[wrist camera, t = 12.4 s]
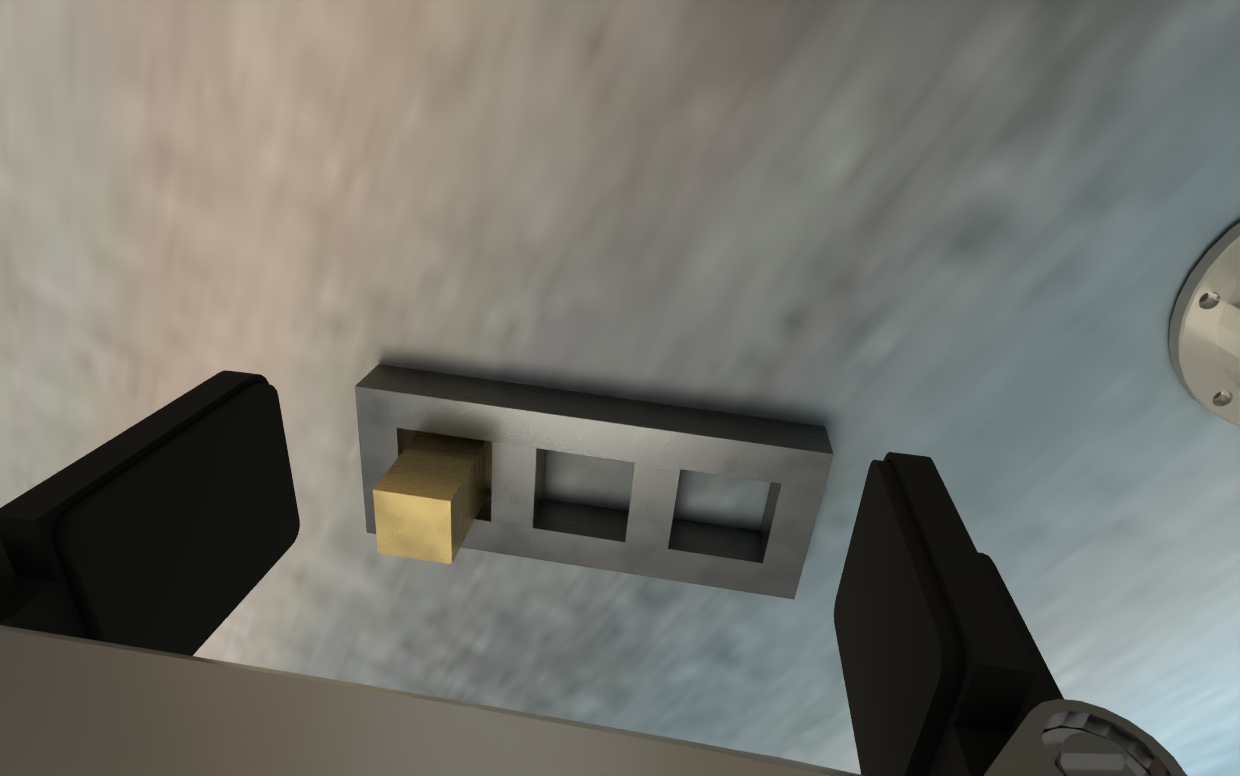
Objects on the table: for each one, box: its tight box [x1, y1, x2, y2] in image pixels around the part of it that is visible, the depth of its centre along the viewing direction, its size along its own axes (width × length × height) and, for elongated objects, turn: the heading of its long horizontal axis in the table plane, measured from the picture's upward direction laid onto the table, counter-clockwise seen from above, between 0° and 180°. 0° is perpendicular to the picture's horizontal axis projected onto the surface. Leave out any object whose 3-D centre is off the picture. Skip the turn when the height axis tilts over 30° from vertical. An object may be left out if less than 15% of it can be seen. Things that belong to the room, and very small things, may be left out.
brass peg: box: [373, 431, 492, 564], centre depth 39 cm, size 4×4×8 cm
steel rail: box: [355, 365, 833, 599], centre depth 41 cm, size 26×10×3 cm, turn 85°
